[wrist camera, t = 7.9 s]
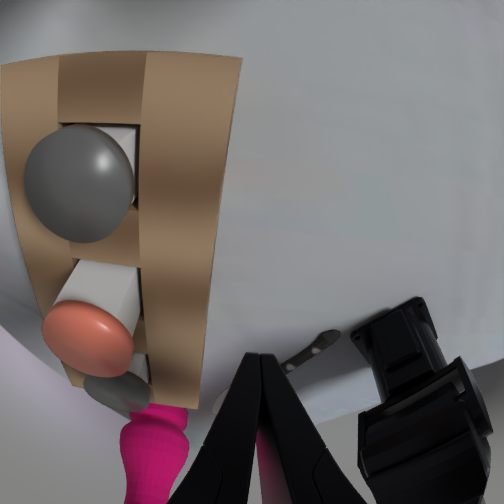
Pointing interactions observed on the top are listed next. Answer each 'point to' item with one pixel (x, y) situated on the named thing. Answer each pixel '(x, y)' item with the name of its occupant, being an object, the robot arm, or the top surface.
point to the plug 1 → (84, 179)
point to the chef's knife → (293, 360)
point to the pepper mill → (153, 452)
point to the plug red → (96, 318)
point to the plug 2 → (123, 386)
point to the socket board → (150, 188)
